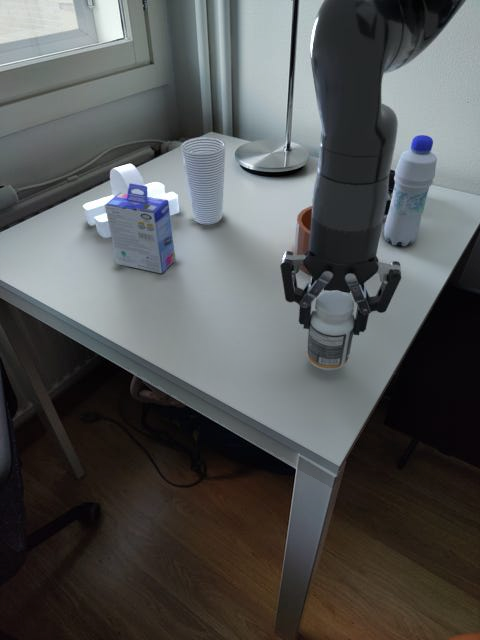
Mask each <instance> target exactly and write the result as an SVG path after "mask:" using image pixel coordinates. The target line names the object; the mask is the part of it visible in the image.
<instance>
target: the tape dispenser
mask: <svg viewBox="0 0 480 640" xmlns="http://www.w3.org/2000/svg"><path fill="white" fill-rule="evenodd" d="M109 181H110V186H111V187H110V188H111V191H112V194H111V195H108V196H105V197H101V198H98V199H95V200H93V201H89V202H86V203H84V204H83V205H82V208H83V212H84V215H85V221H86V223H87V225H89V226H90V227H92V226H96V231H97V234H98V235H99V236H100V237H102V238H103V239H109V238H112V237H111V232H110V228H109V223H108V218H107V214H106V209H105V204H106V203H108V202H109V201H110V200H111V199H112V198H114V197H115V196H116V195H118V194H119V193H125V194H128V188H129V184H136V185H142V186H148V191H147V197H153V198H160V199H167V200H168V204H169V212H170V217H171V216H174V215H176V214H177V215H178V214H179V213H180V206H179V195H178V194H176V192H174V191H170V192H167V193H166V190H165V189H166V188H165V185H164V184H163V183H161V182H159V181H153V182H150V183H147V184H145V181H144V179H143V177H142V175H141V173H140V171H139V170H138V168H137V167H136V166H135V165H133V164H132V163H127V164H124V165H120V166H117V167H113V168H111V169H110V171H109ZM131 192H132V193H133V194H139V195H143V194H144V192H143V191H141V190H139V189H133V190H132V191H131Z"/></svg>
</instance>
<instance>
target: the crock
mask: <svg viewBox="0 0 480 640" xmlns="http://www.w3.org/2000/svg"><path fill="white" fill-rule="evenodd" d="M311 216H312V205H310V206H308V207H306V208H304V209H302V210H301V211H300V212H299V213H298V214H297V216H296V217H297V218H296V224H295V226H296V227H295V238H294V250H293V255H305V253H306V252H307V250H308V249H309V240H310V228H311ZM299 270H301V271H302V272H304V273H305V274H308V275H310V273H309V272H308V271H307V269H306V268H305V267H304V266H301V267H300V269H299Z"/></svg>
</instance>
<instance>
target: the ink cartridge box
mask: <svg viewBox="0 0 480 640" xmlns="http://www.w3.org/2000/svg"><path fill="white" fill-rule="evenodd" d="M133 189H139V190H141V191H143V192H144V194H143V195H139V194H133V193H132V192H131V191H132V190H133ZM147 191H148V186H142V185H136V184H129V188H128V194H125V193H119V194H118V195H116V196H115V197H114V198H112V199H111V200H110V201H109V202H108V203H106V204H105V209H106V214H107V218H108V223H109V228H110V232H111V237H110V238H111V241H112V247H113V251H114V255H115V261H116V264H117V265H120V266H125V267H130V268H135V269H140V270H144V271H149V272H154V273H158V274H163V273H164V272H165V271H166V270H167V269H168V268H170V266H172V264H173V263H174V262H175V261H176V252H175V245H174V237H173V228H172V222H171V221H172V220H171V216H170V212H169V204H168V200H167V199H160V198H153V197H147Z"/></svg>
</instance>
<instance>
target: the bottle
mask: <svg viewBox="0 0 480 640" xmlns="http://www.w3.org/2000/svg"><path fill="white" fill-rule="evenodd" d="M433 145H434V140H433V138H432V137H431V136H430V135H425V134H421V135H416V136H414V137H413V138H412V141H411V145H410V149H407V150H405V151H403V152H402V153H401V154H400V157H399V159H398V163H397V165H396V168H395V170H394V171H395V177H394V180H395V185H394V190H392V194H391V196H392V199H391V204H390V209H389V212H388V215H386V219H385V223H384V228H383V233H384V234H383V235H384V240H385V241H386V242H391V244H392V245H393V246H397V244H398V243H401V246H402V247H406V246H407V245H411V244H413V243H414V242H415V241H416V239H417V237H418V235H419V231H420V227H421V222H422V216H423V212H424V209H425V204H426V202H427V198H428V194H429V190H430V187H431V186H432V185H433V183H434V181H433V180H434V179H435V177H436V168H437V161H438V157H437V155H436V154H435V153H433V152H432V149H433Z"/></svg>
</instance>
